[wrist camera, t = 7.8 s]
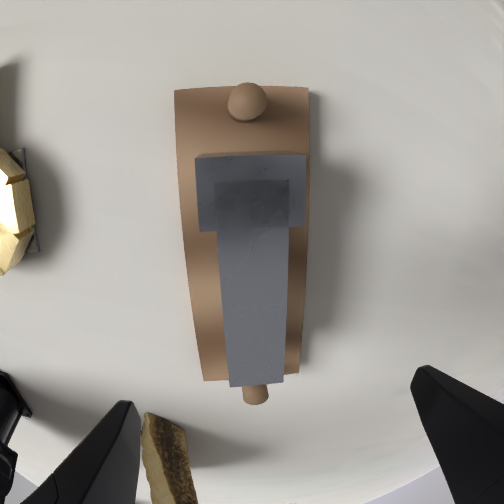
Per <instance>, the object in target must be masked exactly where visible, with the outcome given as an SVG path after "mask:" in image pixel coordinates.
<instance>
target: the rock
mask: <svg viewBox="0 0 504 504" xmlns="http://www.w3.org/2000/svg"><path fill="white" fill-rule="evenodd" d="M144 416H145V422H144V426H143V427H142V431H141V436H142V447H143V451H142V460H143V464H144V467H145V469H146V477H147V480H148V482H149V484H150V488H151V500H152V503H153V504H198V500H197V496H196V491H195V488H194V484H193V480H192V476H191V470H190V468H189V458H188V454H187V444H186V439H185V433H184V431H183V430H182V429H180V428H179V427H177V426H175V425H173V424H172V423H170V422H169V421H167V420H165V419H163V418H160V417H158V416H154V415H152V414H150V413H145V415H144Z"/></svg>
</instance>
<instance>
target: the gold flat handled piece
mask: <svg viewBox="0 0 504 504" xmlns="http://www.w3.org/2000/svg"><path fill="white" fill-rule="evenodd" d="M25 174H26V172H25V171H24V170H23V169H22V168H21V167H20V166H19V165H18V164H17V163H16V162H15V161H14V160H13V159H12V158H11V157H10V156H9V155H8V154H7V153H6V152H5V150H4V149H3V148H0V276H3V275H4V274H5V273H7V272H8V271H9V270H10V269H12V268H13V267H14V266H15V265H17V264H18V263H19V262H20V261H21V260H22V257H23V255H24V253H25V250H26V248H27V246H28V244H29V241H30V239H31V237H32V235H33V233H34V231H35V229H33V228H32V227H31V226H32V225H34V224H35V217H34V212H33V206H32V200H31V193H30V186H29V179H26V180H23V178H24V176H25Z"/></svg>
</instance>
